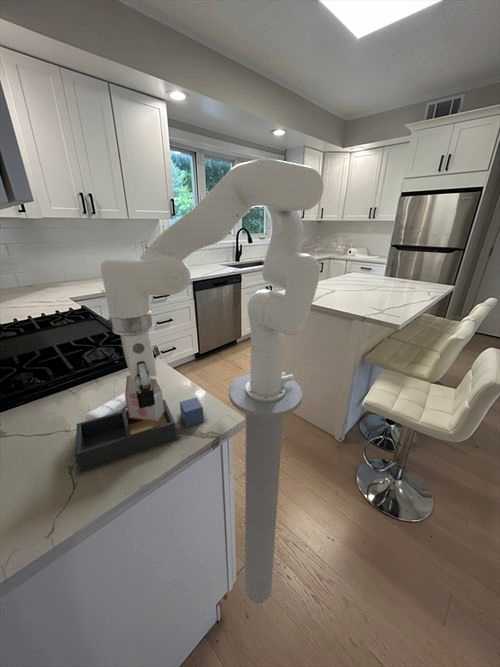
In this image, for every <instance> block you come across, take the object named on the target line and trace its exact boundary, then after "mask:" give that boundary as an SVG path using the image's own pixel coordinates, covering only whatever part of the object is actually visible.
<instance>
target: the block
mask: <svg viewBox="0 0 500 667" xmlns="http://www.w3.org/2000/svg"><path fill="white" fill-rule="evenodd" d="M179 408H180V417H181V419H182V421H183V423H184V426H185V428H188V427H192V426H195V425H197V424H200V423H204V407H203V405H202V403H201V402H200V400H199V398H198V396H197V397H192V398H189V399H186V400H183V401H179Z"/></svg>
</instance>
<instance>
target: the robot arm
mask: <svg viewBox="0 0 500 667" xmlns="http://www.w3.org/2000/svg"><path fill="white" fill-rule="evenodd" d="M323 180H324V179H323V178H322V176H321V174H320V173H319V171H318V170H317V169H316V168H314V167H312V166H309V165H305V164H300V163H295V162H290V161H285V160H280V159H274V158H268V157H266V158H265V157H263V158H258V159H253V160H249V161H245V162H241V163H238V164H236V165H234V166H233V167H232V168H230V169H229V170H228V172H226V174H225V175H224V176H223V177H222V178H220V180H219V181H217V183H216V184H215V185H214V186H213V187H212V188H211V189H210V190H209V192H207V193H206V195H205V196H204V197H203V198H202V199H200V201H199V202H198V203H197V204H196V205H195V206H194V207H193V208H192V209H191V210H189V211H188V212H186V213H185V214H184V215H183V216H181V217H180V218H179V219H178V220H176V221H175V222H173V223H172V224H171V225H170V226H169V227H168V228H166V229H165V230H164V231H162V233H160V235H158V236H157V237H156V238H155V240H153V242H152V243H150V245H149V246H148V247H147V248H146V249H145V250H144V251H143V252H142V254H141V255H140V257H134V256H115V257H108V258H106V259H104V260H102V262H101V264H100V272H101V277H102V282H103V287H104V292H105V298H106V303H107V308H108V314H109V318H110V325H111V330H112V333H113V334H115V335H118V336H120V341H121V345H122V350H123V355H124V359H125V362H126V366H127V369H128V373H129V374H130V375H129V376H131V378H132V380H134V381H136V385H137V390H138V391H136V393H137V398H138V404H139V408H145V407H148V406H152V405H154V404H155V399H154V392H153V387H152V385H151V380H150V378H152V377H156V376H157V374H158V373H157V367H156V361H155V356H154V350H153V344H152V339H151V336H150V335H151V334H150V330H152V329H153V328H154V325H153V316H152V311H151V310H152V309H151V301H150V296H173V295H177V294H180V293H182V292H184V291H185V290H186V289H187V288H188V286H189V284H190V282H191V271H190V268H189V267H188V264H186V263H185V261H184V260H185V259H186V258H187V257H189V256H190V255H191V254H193V253H195V252H196V251H198V250H200V249H203V248H206V247H210V246H212V245H215V244H217V243H219V242H221V241H223V240H224V239H225V238H227V236H228V235H229V234H230V233H231V232H232V231H233V230H234V228H235V227H236V226H237V225H238V224H239V223H240V221H241V220H242V219H244V217H245V216H246V215H247V214H248V213H249V212H250V211H251V209H253V208H255V207H264V208H265V210H266V212H267V215H268V216H269V217H268V218H269V219H270V220H269V221H270V226H271V229H270V234H269V235H270V236H269V240H268V245H267V248H266V253H265V257H264V261H263V264H262V270H261V276H262V279H263V281H265V283H267V284H268V285H271V286H273V287H275V288H279V289H283V290H284V291H285V292H284V293H282V292H278V291H275V290H270V289H261V290H257V291H255V292H254V293H253V294H252V295H251V296H250V298H249V300H248V303H247V315H248V321H249V327H250V381H249V382H247V384H246V386H245V391H246V394H247V395H248V396H249V397H250V398H252V399H254V400H257V401H261V402H273V401H277V400H279V399H281V398H282V397H283V396H284V395H285V392H286V387H285V385H284V384H285V383H286V382H287V381H291V380H294V381H295V376H294V374H293V373H290V374H287V373H286V372H285V371H284V372H283V360H284V359H283V358H284V346H285V338H284V335H287V336H295V335H297V334H299V333H300V332H301V331H302V330H303V329H304V327H305V325H306V323H307V320H308V318H309V315H310V313H311V309H312V305H313V302H314V299H315V296H316V292H317V288H318V284H319V282H320V265H319V263H318V260H316V258H315V257H314V256H312V255H311V254H309V253H304V252H301V249H302V245H303V240H304V236H305V235H304V234H305V231H304V229H305V228H304V224H303V220H302V218H301V215H300V213H299V211H309V210H311V209H313V208H315V207H316V206H317V205H318V204H319V203H320V201H321V200H322V198H323V195H324V181H323ZM137 377H139V378H137ZM139 380H141V385H139Z"/></svg>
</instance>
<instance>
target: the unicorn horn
mask: <svg viewBox="0 0 500 667" xmlns="http://www.w3.org/2000/svg"><path fill="white" fill-rule="evenodd" d="M125 408H127V404H126V399H125V392H123V393H121V394H120V395H119V394H118V396H115V397H114V398H112V399H110V400H108V401H106V402H105V403H103V404H102V405H100V406H99V407H97V408H94V409H93V410H91V411H89V412H88V413H86V414H85V416H84V422H85V421H88V420H92V419H96V418H99V417H103V416H107V415H110V414H114V413H117V412H121V411H123V410H124V409H125Z"/></svg>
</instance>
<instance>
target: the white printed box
mask: <svg viewBox="0 0 500 667" xmlns="http://www.w3.org/2000/svg"><path fill="white" fill-rule="evenodd" d="M137 378H139V377H137ZM125 380H126V382H125V391H124V393H125V399H126V404H127V406H126V410H128V414H129V418H133V419H140V420H146V421H153V422H157V421H158V420H159V418H160V417H161V416H162V414H163V413H164V404H163V400H164V398H163V390H162V389H161V387H160V385H159V383H158V381H157V379H156V378H152V377H150V380H151V385H152V387H153V392H154V399H155V404H154V405H152V406H148V407H145V408H139V404H138V398H137V393H136V391H138V390H137V385H136V381H134V380H132V378H131V375H126V379H125ZM139 385H141V380H139Z"/></svg>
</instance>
